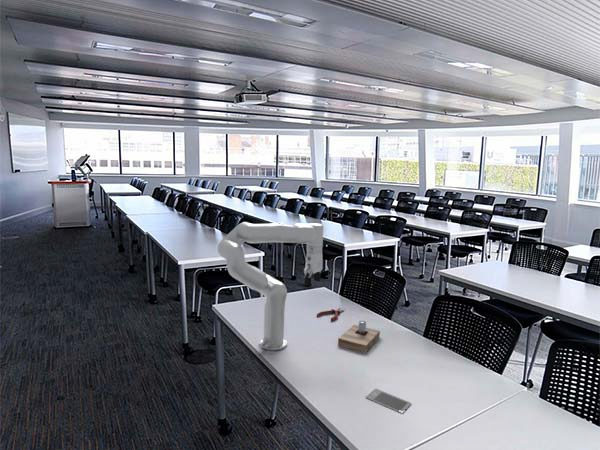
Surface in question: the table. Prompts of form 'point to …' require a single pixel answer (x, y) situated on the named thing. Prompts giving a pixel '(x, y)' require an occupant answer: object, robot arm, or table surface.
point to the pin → (362, 328)
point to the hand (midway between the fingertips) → (312, 282)
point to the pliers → (331, 313)
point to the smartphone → (388, 400)
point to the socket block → (358, 339)
